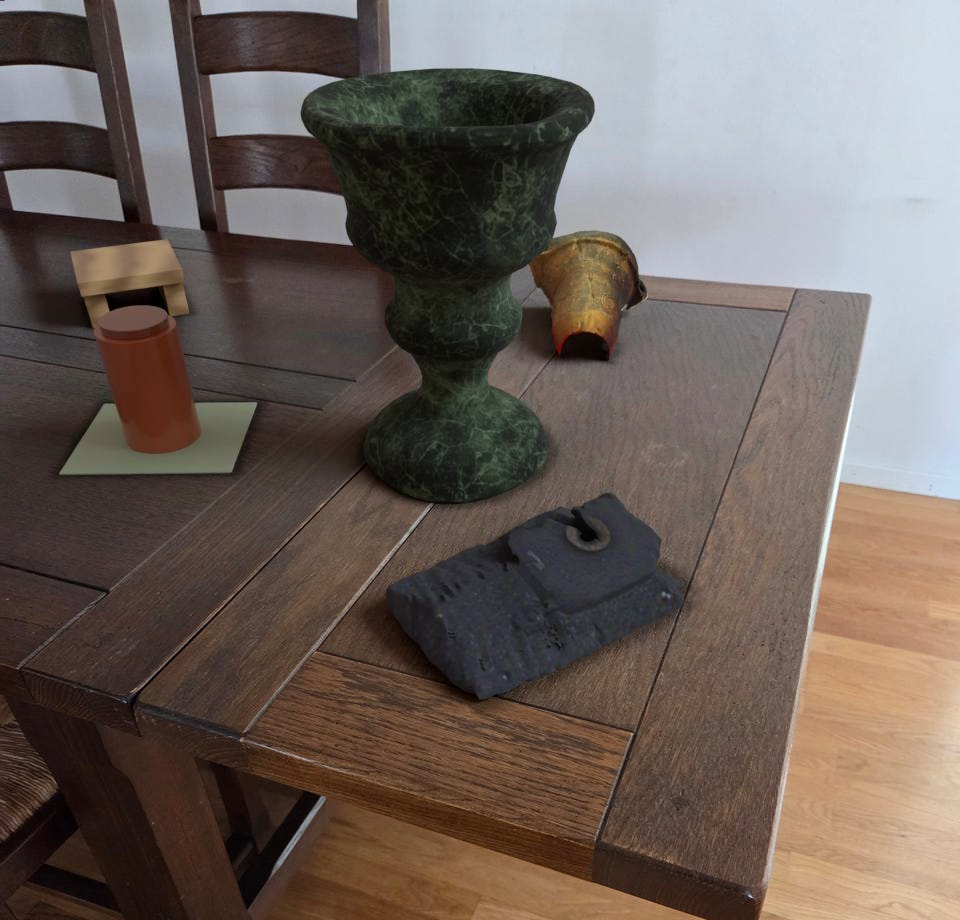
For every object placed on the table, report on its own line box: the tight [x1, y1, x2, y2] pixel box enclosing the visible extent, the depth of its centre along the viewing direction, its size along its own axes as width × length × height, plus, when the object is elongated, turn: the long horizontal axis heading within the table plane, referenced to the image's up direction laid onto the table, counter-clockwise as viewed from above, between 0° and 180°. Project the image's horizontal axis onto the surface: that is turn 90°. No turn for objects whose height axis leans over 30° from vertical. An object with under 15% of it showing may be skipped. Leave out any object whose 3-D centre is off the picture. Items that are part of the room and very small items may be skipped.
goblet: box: [300, 67, 596, 504], centre depth 76 cm, size 22×23×30 cm
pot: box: [527, 230, 649, 361], centre depth 105 cm, size 17×11×18 cm
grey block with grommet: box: [385, 492, 685, 701], centre depth 67 cm, size 15×22×5 cm
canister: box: [93, 304, 201, 454], centre depth 84 cm, size 7×7×12 cm
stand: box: [70, 238, 190, 329], centre depth 111 cm, size 12×12×6 cm
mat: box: [58, 401, 258, 476], centre depth 88 cm, size 16×14×1 cm
